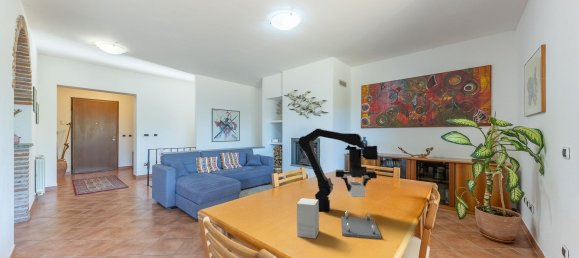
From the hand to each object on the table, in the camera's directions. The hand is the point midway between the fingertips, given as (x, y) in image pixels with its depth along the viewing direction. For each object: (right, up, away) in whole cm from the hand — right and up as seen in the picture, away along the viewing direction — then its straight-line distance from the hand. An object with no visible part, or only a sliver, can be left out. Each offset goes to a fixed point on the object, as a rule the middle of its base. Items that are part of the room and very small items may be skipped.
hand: (355, 191), depth 108 cm
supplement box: (-25, -11, -21) cm, 34 cm away
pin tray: (-3, -11, -16) cm, 19 cm away
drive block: (0, -1, 0) cm, 1 cm away
